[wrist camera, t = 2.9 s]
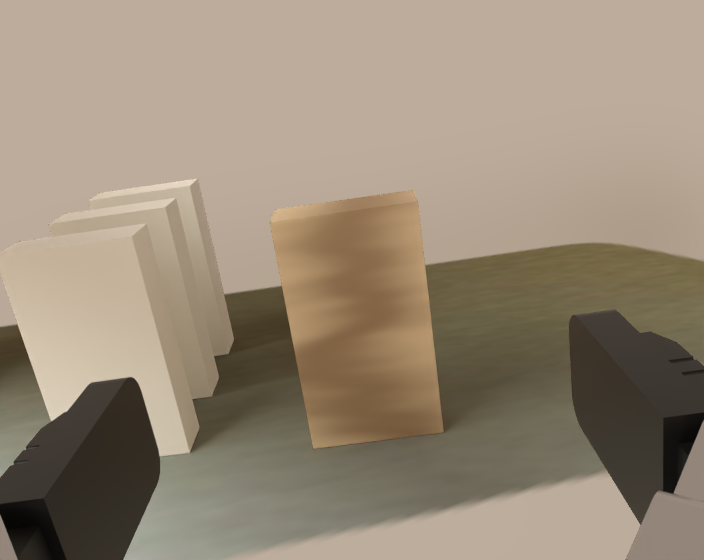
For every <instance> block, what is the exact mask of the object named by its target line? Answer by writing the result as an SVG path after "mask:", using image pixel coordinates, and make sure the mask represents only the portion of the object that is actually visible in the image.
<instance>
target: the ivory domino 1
mask: <svg viewBox="0 0 704 560" xmlns="http://www.w3.org/2000/svg"><path fill="white" fill-rule="evenodd" d="M170 198H176V199H177V204H178V208H179V212H180V216H181V220H182V225H183V229H184V233H185V237H186V241H187V246H188V250H189V254H190V258H191V262H192V266H193V271H194V275H195V279H196V283H197V287H198V292H199V296H200V300H201V304H202V308H203V312H204V317H205V321H206V325H207V329H208V333H209V338H210V342H211V346H212V350H213V354H214V356H218V355H226V354H229V351H230V349H231V346H232V344H233V341H234V337H233V332H232V328H231V323H230V319H229V315H228V310H227V306H226V301H225V297H224V292H223V288H222V284H221V279H220V275H219V270H218V266H217V262H216V257H215V253H214V248H213V244H212V239H211V235H210V230H209V226H208V222H207V217H206V212H205V208H204V204H203V199H202V195H201V190H200V186H199V181H198V179H192V180H186V181H178V182H172V183H165V184H158V185H150V186H144V187H137V188H130V189H123V190H116V191H109V192H102V193H100V194H98V195H96V196H95V197H93V198H91V199H90V200H88V203H89V206H90V210H94V209H101V208H108V207H115V206H122V205H129V204H136V203H143V202H150V201H157V200H163V199H170Z"/></svg>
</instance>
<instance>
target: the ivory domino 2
mask: <svg viewBox="0 0 704 560" xmlns="http://www.w3.org/2000/svg"><path fill="white" fill-rule="evenodd" d="M145 223H147V226H148V230H149V234H150V238H151V242H152V245H153V249H154V253H155V257H156V261H157V265H158V269H159V273H160V276H161V280H162V284H163V288H164V292H165V296H166V300H167V304H168V307H169V311H170V315H171V319H172V323H173V327H174V331H175V334H176V338H177V342H178V346H179V350H180V354H181V358H182V362H183V365H184V369H185V373H186V377H187V381H188V385H189V389H190V393H191V396H192V399H198V398H205V397H212V395H213V392H214V390H215V387H216V385H217V382H218V380H219V375H218V371H217V367H216V363H215V359H214V354H213V350H212V346H211V342H210V338H209V333H208V329H207V325H206V321H205V317H204V312H203V308H202V304H201V300H200V296H199V292H198V287H197V283H196V279H195V275H194V271H193V266H192V262H191V258H190V254H189V250H188V246H187V241H186V237H185V233H184V229H183V225H182V220H181V216H180V212H179V208H178V204H177V199H176V198H170V199H163V200H157V201H150V202H143V203H136V204H129V205H122V206H115V207H108V208H101V209H94V210H88V211H80V212H73V213H67V214H64V215H63V216H61V217H59V218H58V219H56V220H54V221H52V222H51V223H49V224H48V225H49V228H50V232H51V235H52V237H54V236H61V235H68V234H75V233H82V232H89V231H96V230H103V229H110V228H117V227H124V226H131V225H138V224H145Z"/></svg>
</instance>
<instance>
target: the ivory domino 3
mask: <svg viewBox="0 0 704 560" xmlns="http://www.w3.org/2000/svg"><path fill="white" fill-rule="evenodd" d="M0 275H1V278H2V281H3V284H4V287H5V289H6V292H7V295H8V298H9V301H10V304H11V307H12V309H13V312H14V315H15V318H16V321H17V324H18V327H19V330H20V333H21V336H22V338H23V341H24V344H25V347H26V350H27V353H28V356H29V359H30V362H31V364H32V367H33V370H34V373H35V376H36V379H37V382H38V385H39V388H40V390H41V393H42V396H43V399H44V402H45V405H46V408H47V411H48V414H49V416H50V419H51V421H53V420H54V419H56V418H57V417H58V416H60V415H61V414H63V413H64V412H67V411H68V410H69V408H70V407H71V406H72V405H73V403H74V402H75V401H76V400H77V398H78V397H79V396H80V395H81V393H82V392H83V391H84V390H85V388H86V387H87V386H88V385H89V384H90V383H92V382H98V381H105V380H112V379H120V378H127V377H133V378H134V379H135V380H136V381H137V382H138V384H139V386H140V389H141V392H142V395H143V398H144V402H145V405H146V409H147V412H148V416H149V419H150V422H151V426H152V429H153V433H154V436H155V439H156V443H157V446H158V450H159V456H160V457H161V456H169V455H177V454H185V453H190V451H191V449H192V446H193V443H194V441H195V438H196V436H197V433H198V431H199V428H200V427H199V423H198V420H197V416H196V412H195V408H194V404H193V400H192V396H191V393H190V389H189V385H188V381H187V377H186V373H185V369H184V365H183V362H182V358H181V354H180V350H179V346H178V342H177V338H176V334H175V331H174V327H173V323H172V319H171V315H170V311H169V307H168V304H167V300H166V296H165V292H164V288H163V284H162V280H161V276H160V273H159V269H158V265H157V261H156V257H155V253H154V249H153V245H152V242H151V238H150V234H149V230H148V226H147V223H145V224H138V225H131V226H124V227H117V228H110V229H103V230H96V231H89V232H82V233H75V234H68V235H61V236H54V237H48V238H40V239H33V240H26V241H20V242H17V243H15V244H13V245H12V246H10V247H8V248H7V249H5V250H4V251H2V252H0Z"/></svg>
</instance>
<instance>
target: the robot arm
mask: <svg viewBox="0 0 704 560" xmlns="http://www.w3.org/2000/svg"><path fill="white" fill-rule="evenodd" d="M569 341H570V361H571V382H572V398H573V404H574V409H575V413H576V416H577V419H578V422H579V425H580V427H581V429H582V430H583V432H584V434H585V435H586V437H587V439H588V440H589V442H590V443H591V445H592V447H593V448H594V450H595V451H596V453H597V455H598V456H599V458H600V460H601V461H602V463H603V464H604V466H605V468H606V469H607V471H608V473H609V474H610V476H611V477H612V479H613V481H614V482H615V484H616V485H617V487H618V489H619V490H620V492H621V494H622V495H623V497H624V499H625V500H626V502H627V503H628V505H629V507H630V508H631V510H632V512H633V513H634V515H635V516H636V518H637V520H638V521H639V523H640V525H641V526H640V528H639V531H638V533H637V535H636V537H635V540H634V542H633V544H632V547H631V549H630V551H629V553H628V555H627V558H626V560H704V366H703V365H702V364H701V363H699V362H698V361H697V360H694V359H693V356H692V355H690V354H689V353H688V352H687V351H686V350H685V349H684V348H682V347H681V346H680V345H679V344H678V343H677V342H674V341H672V340H670V339H667V338H665V337H662V336H660V335H657V334H655V333H653V332H645V333H639V332H638V331H637V330H636V329H635V328H634V327H633V326H632V325H631V324H630V323H629V322H628V321H627V320H626V319H625V318H624V317H623V316H622V315H621V314H620V313H619V312H617V311H616V310H608V311H601V312H594V313H587V314H580V315H573V316H572V317H571V318H570V322H569ZM159 474H160V456H159V450H158V446H157V443H156V439H155V436H154V433H153V429H152V426H151V422H150V419H149V416H148V412H147V409H146V405H145V402H144V398H143V395H142V392H141V389H140V386H139V384H138V382H137V381H136V380H135V379H134V378H133V377H127V378H120V379H112V380H105V381H98V382H92V383H90V384H89V385H88V386H87V387H86V388H85V390H84V391H83V392H82V393H81V395H80V396H79V397H78V398H77V400H76V401H75V402H74V403H73V405H72V406H71V407H70V408H69V410H68V411H67V412H64V413H63V414H61V415H60V416H58V417H57V418H56V419H54V420H53V421H51V422H50V423H49V424H47V425H46V426H44V427H43V428H42V429H40V431H39V432H38V433H37V434H36V435H35V437H34V438H33V439H32V440H31V441H30V443H29V444H28V445H27V446H26V450H23V451H22V452H21V454H20V455H19V456H18V457H17V458H16V460H15V461H14V465H12V466H10V467H9V468H8V469H7V470H6V472H5V473H4V474H3V475H2V476H1V478H0V560H123V559H124V556H125V554H126V552H127V550H128V547H129V545H130V543H131V541H132V539H133V536H134V534H135V532H136V530H137V528H138V525H139V523H140V521H141V519H142V516H143V514H144V512H145V510H146V508H147V505H148V503H149V501H150V499H151V496H152V494H153V492H154V490H155V488H156V485H157V483H158V479H159Z"/></svg>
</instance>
